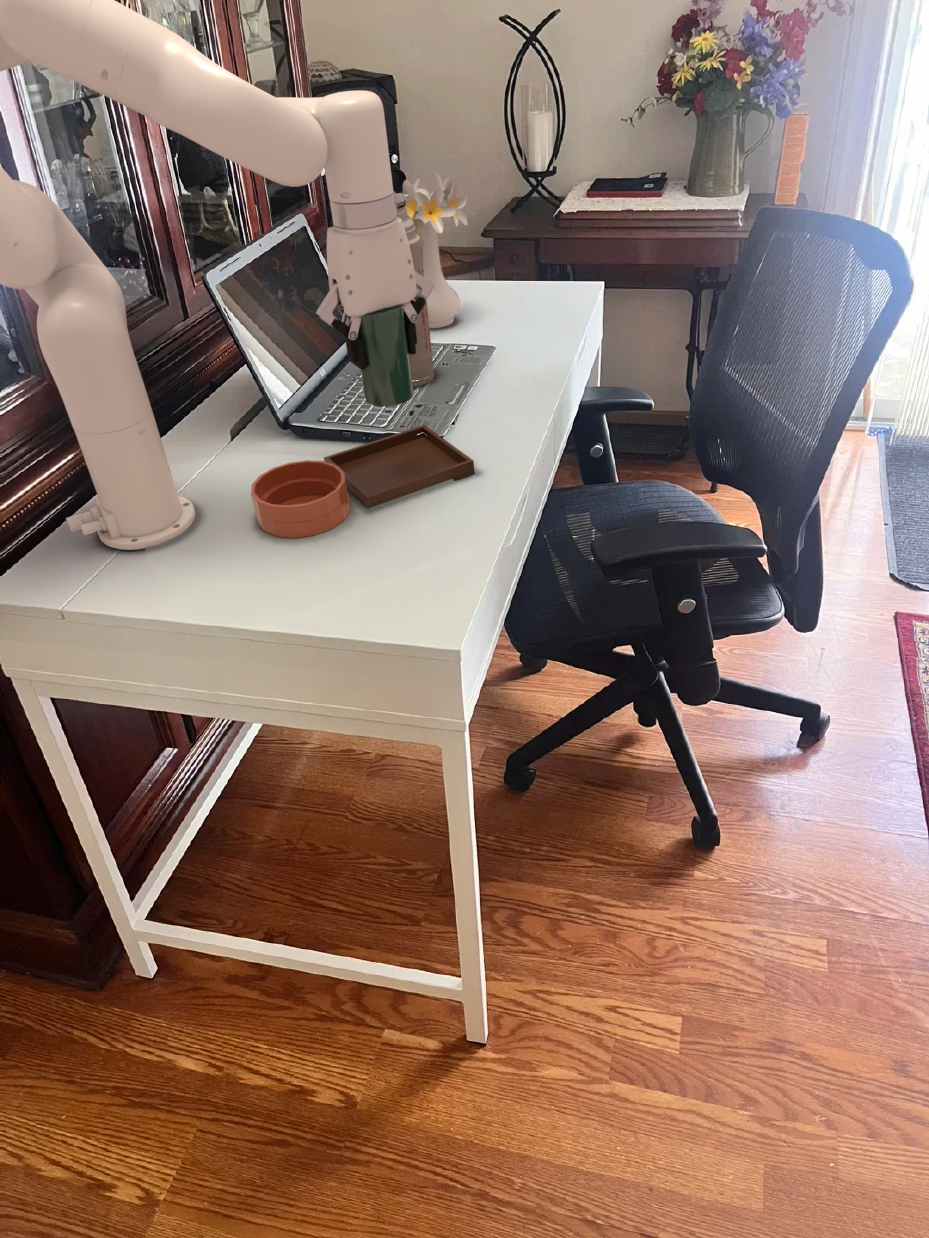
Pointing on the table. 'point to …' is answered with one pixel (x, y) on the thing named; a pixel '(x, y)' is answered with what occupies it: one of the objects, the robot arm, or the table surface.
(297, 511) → the bowl
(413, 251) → the thermos bottle
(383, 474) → the tray
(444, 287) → the flower vase
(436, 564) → the table surface
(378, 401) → the bottle
